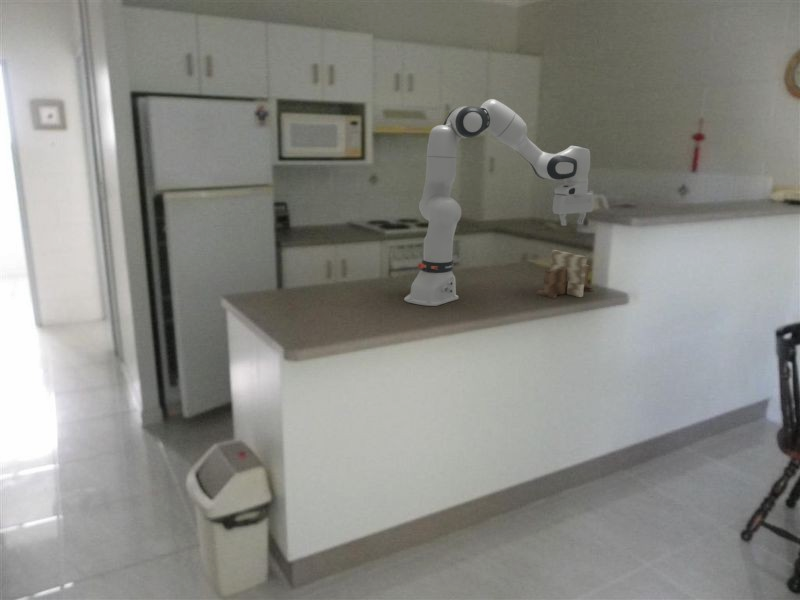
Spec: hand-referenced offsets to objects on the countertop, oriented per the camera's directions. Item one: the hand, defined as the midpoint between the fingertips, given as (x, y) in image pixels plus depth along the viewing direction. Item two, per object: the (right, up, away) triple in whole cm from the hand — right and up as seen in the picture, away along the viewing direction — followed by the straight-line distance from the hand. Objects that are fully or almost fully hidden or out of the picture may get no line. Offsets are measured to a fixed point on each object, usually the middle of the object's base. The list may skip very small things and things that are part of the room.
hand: (571, 224), depth 234 cm
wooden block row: (0, -26, +7) cm, 27 cm away
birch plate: (-1, -26, +7) cm, 27 cm away
